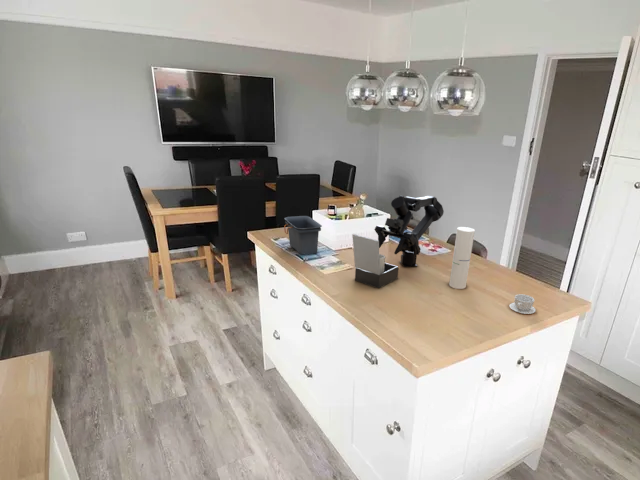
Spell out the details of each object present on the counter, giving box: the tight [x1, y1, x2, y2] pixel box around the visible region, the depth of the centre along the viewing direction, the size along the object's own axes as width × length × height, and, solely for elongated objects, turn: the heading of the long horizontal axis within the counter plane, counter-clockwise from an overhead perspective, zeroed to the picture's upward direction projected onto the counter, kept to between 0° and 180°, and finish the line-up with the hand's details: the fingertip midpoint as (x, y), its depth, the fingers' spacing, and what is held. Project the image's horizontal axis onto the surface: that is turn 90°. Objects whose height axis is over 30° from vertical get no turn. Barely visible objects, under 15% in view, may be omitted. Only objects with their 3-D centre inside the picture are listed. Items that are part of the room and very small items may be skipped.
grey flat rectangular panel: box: [352, 233, 380, 275], centre depth 168 cm, size 15×12×1 cm
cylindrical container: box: [448, 226, 476, 290], centre depth 175 cm, size 7×7×25 cm
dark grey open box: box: [354, 262, 399, 289], centre depth 179 cm, size 14×12×6 cm
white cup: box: [379, 253, 386, 274], centre depth 178 cm, size 6×6×10 cm
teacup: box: [508, 293, 537, 315], centre depth 162 cm, size 10×10×5 cm
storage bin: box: [284, 215, 323, 256], centre depth 206 cm, size 21×16×14 cm
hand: (386, 251), depth 180 cm, fingers open, 9 cm apart
